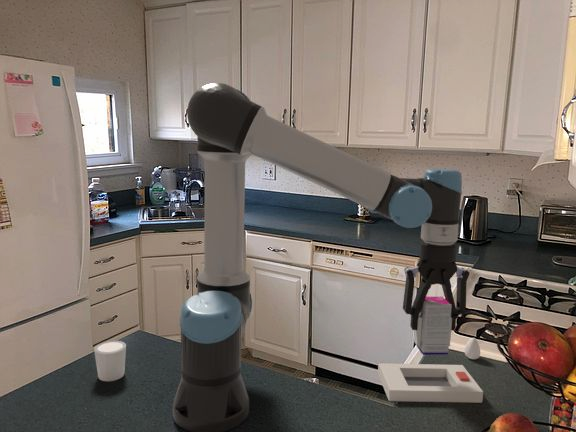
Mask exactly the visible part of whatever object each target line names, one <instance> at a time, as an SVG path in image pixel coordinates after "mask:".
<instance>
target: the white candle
mask: <svg viewBox="0 0 576 432" xmlns="http://www.w3.org/2000/svg"><path fill="white" fill-rule="evenodd" d="M93 351H94V359H95V365H96V369H97V370H96V371H97V377H98V379H99V380H100V381H102V382H114V381H117V380H119V379H122V378H123V377H124V376H125V371H126V370H125V367H126V353H127V344H126V342H123V341H121V340H108V341H104V342H101V343H98V344H97V345H95V346H94V348H93Z"/></svg>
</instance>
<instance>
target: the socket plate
mask: <svg viewBox="0 0 576 432" xmlns="http://www.w3.org/2000/svg"><path fill="white" fill-rule="evenodd" d="M377 368H378V369H377V374H378V377H379V379H380V383H381V385H382V387H383V389H384V392H385V395H386V397H387V399H388V402H417V403H418V402H419V403H421V402H423V403H425V402H427V403H431V402H433V403H477V404H478V403H483V398H484V391H483V389H482V387H480V385H479V384H478V383H477V381H475V379H474V378H473V376H472V375H471V374H470V373H469V372H468V370H467V369H466V367H465V366H464V365H463V364H433V363H432V364H429V363H427V364H426V363H425V364H422V363H378V366H377ZM399 398H400V399H399Z"/></svg>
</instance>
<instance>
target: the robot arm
mask: <svg viewBox="0 0 576 432" xmlns="http://www.w3.org/2000/svg"><path fill="white" fill-rule="evenodd" d="M186 115H187V122H188V124H189V127H190V128H191V130H192V132H193V133H194V135H196V136H197V139H196V140H197V145H196V146H197V153H198V155H199V156H201V158H202V159H203V160H204V230H203V231H204V233H203V234H204V238H203V239H204V243H203V244H204V248H203V249H204V252H203V253H204V257H203V258H204V259H203V260H204V262H203V263H204V265H203V268H204V269H203V270H202V271H201V272H199V274H198V275H197V276H196V278H197V279H196V283H197V284H196V285H197V287H196V288H197V289H196V294H195V295H194V294H193V295H191V296H189V297H188V299H186V300H185V301H184V303H182V306H181V308H180V309H181V311H180V316H179V327H180V358H181V360H180V361H181V362H180V365H181V370H180V371H181V375H180V376H181V377H180V381H179V384H178V387H177V390H176V393H175V396H174V399H173V403H172V417H173V421H174V422H175V424H176V425H177V426H178V427H179V428H181V429H183V430H185V431H187V432H227V431H230V430H232V429H235V428H236V427H238V426H240V425H241V424H242V423H243V422H244V421H246V419H247V418H248V416H249V414H250V398H249V395H248V391H247V389H246V386H245V382H244V380H243V377H242V373H241V371H242V370H241V369H242V366H241V365H242V362H241V361H242V337H243V334H244V331H245V329H246V325H247V322H248V319H249V317H250V315H251V312H252V308H253V298H252V293H251V288H250V287H251V276H250V274H249V272H247V271H246V270H245V269H244V259H245V258H244V254H245V252H244V250H245V249H244V248H245V198H246V197H245V195H246V194H245V193H246V191H245V190H246V163H247V160H248V159H249V158H250V157H251V156H252V155H254V156H255V157H258V158H260V159H262V160H264V161H266V162H268V163H271V164H273V165H275V166H276V167H279V168H281V169H283V170H284V171H285V170H286V171H287V172H289V173H292V174H294V175H296V176H298V177H300V178H303V179H305V180H306V181H308V182H311V183H313V184H316V185H318V186H319V187H322V188H324V189H326V190H328V191H330V192H333V193H334V194H337V195H339V196H341V197H344V198H345V199H347V200H349V201H352V202H354V203H356V204H358V205H360V206H363V207H365V208H366V209H367V211H368V212H369V213H371V214H373V213H375V214H379V215H381V216H383V217H385V218H387V219H388V220H389V219H390V220H392V222H394V223H395V224H396V225H398V226H401V227H403V228H406V229H412V228H413V229H414V228H418V227H421V230H420V239H421V241H420V245H419V246H420V247H419V261H418V263H417V264H416V266H414V267H413V266H412V267H407V266H406V267H404V270H403V271H404V274H405V283H404V284H405V285H404V292H403V293H404V295H403V301H402V302H403V303H402V309H403V312H405V314H406V315H410V323H409V324H410V328H411V330H412V331H413V341H414V344H415V346H416V345H417V346H420V344H421V329H422V317H421V315H420V311H421V308H422V306H423V303H424V301H425V298H426V297H427V295H428V293H429V290H430V289H431V287H432V286H433V285H441V287H442V292H443V296H444V297H443V298H444V299H446V300H447V301H448V302H449V303H450V304H451V305H452V307H451V321H450V336H449V347H451V339H452V338H451V336H452V331H455V330H456V327H457V326H456V325H457V319H458V318H459V316H460V315H462V316H463V315H465V314H466V312H467V281H468V279H469V276H470V271H469V270H467V269H466V268H464V267H461V268H460V267H458V265H457V264H456V263H457V262H456V261H457V250H458V245H457V243H456V242H457V241H458V238H459V237H458V236H459V223H460V222H459V221H460V208H461V201H462V194H463V191H462V187H463V186H462V185H463V184H462V183H463V180H462V173H461V172H460V171H459V170H457V169H450V168H427V169H426V170H425V171H424V174H423V177H418V178H409V177H407V178H405V177H399V176H396V175H393V174H391V173H390V172H388V171H385V170H383V169H381V168H379V167H377V166H374V165H373V164H371V163H369V162H367V161H365V160H363V159H360V158H358V157H356V156H353V155H352V154H349V153H348V152H346V151H344V150H342V149H339V148H336V147H335V146H333V145H331V144H329V143H327V142H324V141H322V140H320V139H318V138H316V137H314V136H312V135H309V134H308V133H306V132H303V131H301V130H299V129H297V128H295V127H293V126H291V125H288V124H287V123H285V122H282V121H281V120H278V119H276V118H274V117H272V116H270V115H268V114H267V111H266V109H265V107H263V106H262V105H260V104H258V103H255V102H254V101H252V100H251V99H250V98H249V97H248V96H247V95H246V94H245V93H244V92H242V91H241V90H239V89H236V88H234V87H233V86H231V85H228V84H226V83H222V82H211V83H207V84H205V85H203V86H201V87H200V88H198V89H197V90H196V91H195V92H194V93H193V94H192V96H191V97H190V99H189V101H188V104H187V110H186ZM418 273H419V275H420V276H421V280H420V283H419V287H418V290H417V292H416V294H415V295H416V296H415V298H413V297H414V290H415V289H414V288H415V278H417V275H418ZM454 275H455V276H456V304H455V300H454V294H453V291H452V284H451V279H452V278H453V276H454ZM413 300H414V301H413ZM417 346H416V347H417Z"/></svg>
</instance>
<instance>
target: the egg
mask: <svg viewBox="0 0 576 432" xmlns="http://www.w3.org/2000/svg"><path fill="white" fill-rule="evenodd" d="M463 351H464V354H465V357H467V358H468V359H470V360H477V359H479V358H480V356H481V348H480V344H479V342H478V340H477V339H476V338H475V337H471V338H470V339H469V340H468V341H467V342H466V343H465V346H464V350H463Z"/></svg>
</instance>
